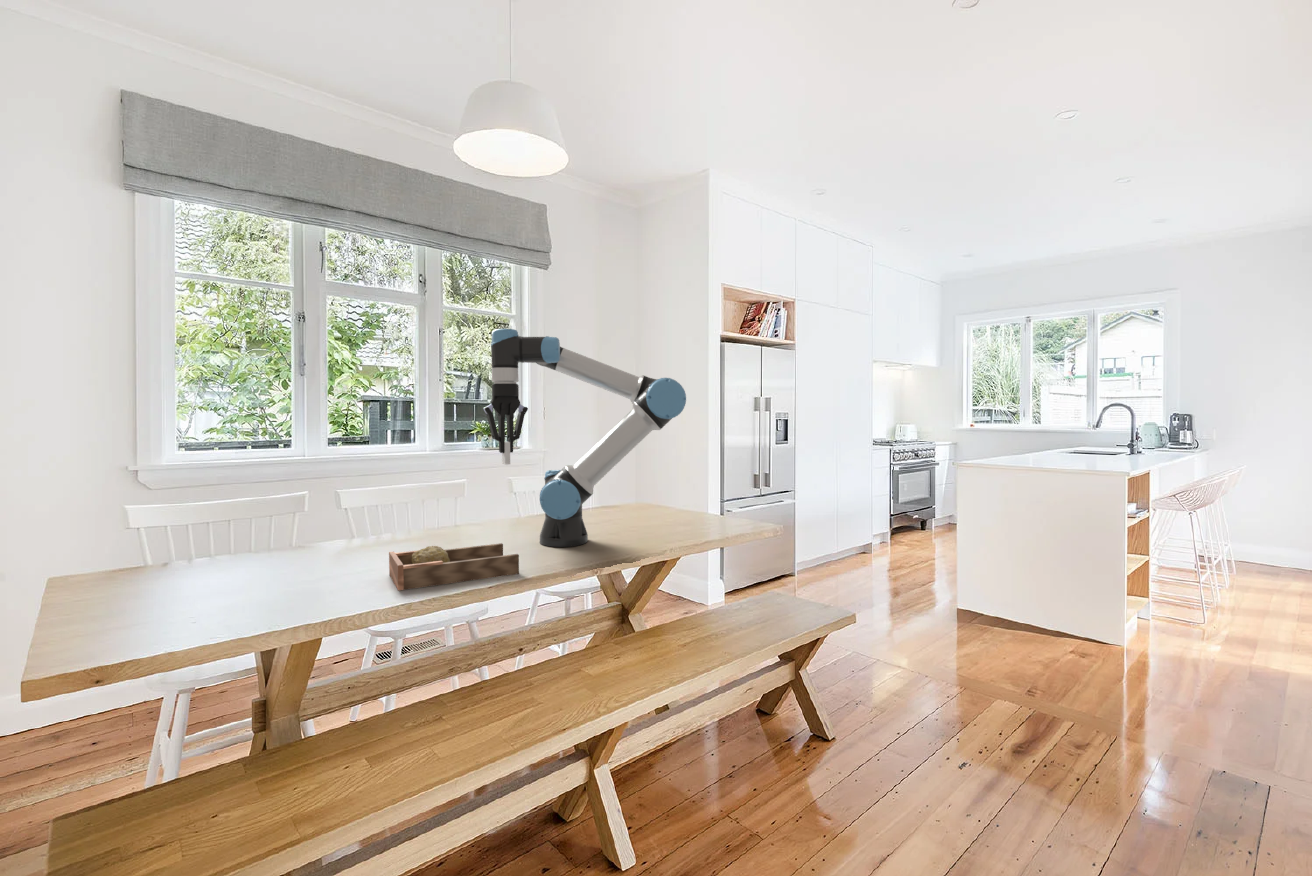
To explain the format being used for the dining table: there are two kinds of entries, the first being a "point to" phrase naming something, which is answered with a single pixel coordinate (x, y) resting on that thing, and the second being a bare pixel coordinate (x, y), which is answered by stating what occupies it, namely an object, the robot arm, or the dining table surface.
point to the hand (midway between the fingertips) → (506, 464)
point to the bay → (452, 567)
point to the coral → (430, 555)
